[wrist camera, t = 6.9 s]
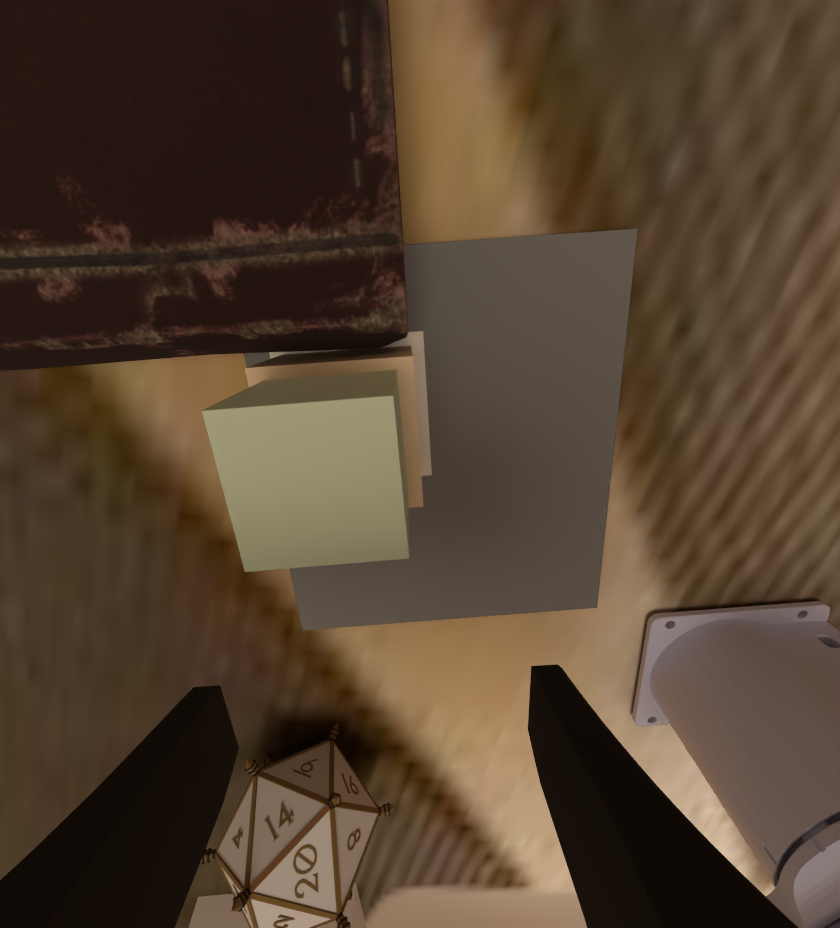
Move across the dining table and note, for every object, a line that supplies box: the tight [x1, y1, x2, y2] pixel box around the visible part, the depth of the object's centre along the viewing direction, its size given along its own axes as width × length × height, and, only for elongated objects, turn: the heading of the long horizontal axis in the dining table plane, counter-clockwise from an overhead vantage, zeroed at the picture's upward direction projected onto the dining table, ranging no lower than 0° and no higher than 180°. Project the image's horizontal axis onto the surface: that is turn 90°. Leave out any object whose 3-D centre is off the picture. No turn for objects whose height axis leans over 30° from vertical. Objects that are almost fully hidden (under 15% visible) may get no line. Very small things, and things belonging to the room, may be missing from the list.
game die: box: [200, 722, 396, 928], centre depth 21 cm, size 9×8×10 cm
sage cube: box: [202, 370, 409, 572], centre depth 11 cm, size 4×4×4 cm
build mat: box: [244, 229, 638, 630], centre depth 18 cm, size 15×17×1 cm
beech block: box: [245, 345, 423, 508], centre depth 15 cm, size 5×5×4 cm
